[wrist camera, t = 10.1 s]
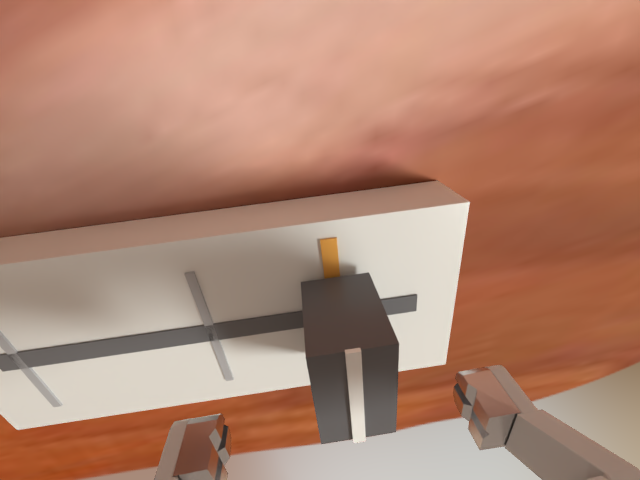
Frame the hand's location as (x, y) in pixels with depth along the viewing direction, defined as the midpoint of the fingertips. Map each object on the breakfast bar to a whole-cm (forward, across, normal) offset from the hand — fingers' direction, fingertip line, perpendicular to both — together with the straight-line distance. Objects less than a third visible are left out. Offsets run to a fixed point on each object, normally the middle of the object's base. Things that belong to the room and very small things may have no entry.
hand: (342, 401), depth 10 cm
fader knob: (+4, -1, 0) cm, 4 cm away
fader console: (+8, +6, 0) cm, 9 cm away
